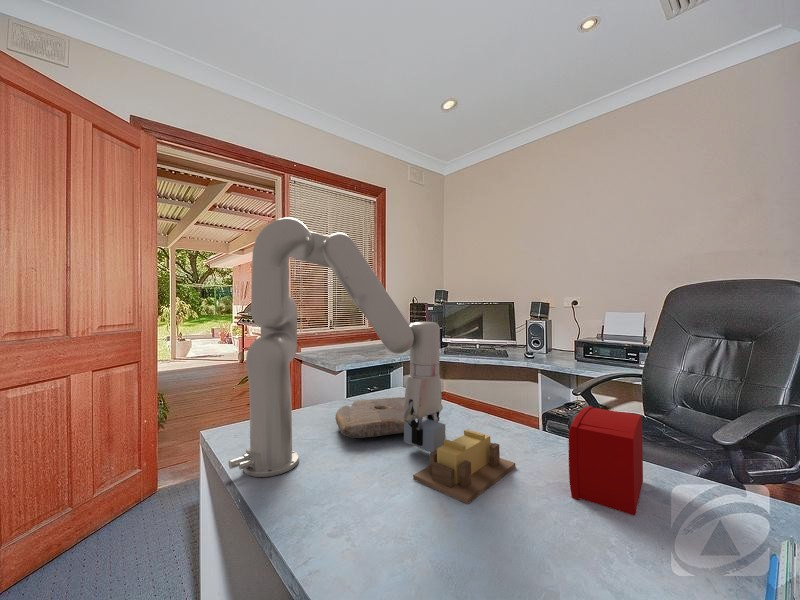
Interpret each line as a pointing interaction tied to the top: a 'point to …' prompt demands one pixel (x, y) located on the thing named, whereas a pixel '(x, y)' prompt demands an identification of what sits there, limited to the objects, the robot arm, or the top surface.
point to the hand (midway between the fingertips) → (423, 440)
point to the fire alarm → (606, 458)
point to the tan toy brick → (465, 452)
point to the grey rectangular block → (427, 434)
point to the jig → (465, 476)
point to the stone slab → (372, 418)
